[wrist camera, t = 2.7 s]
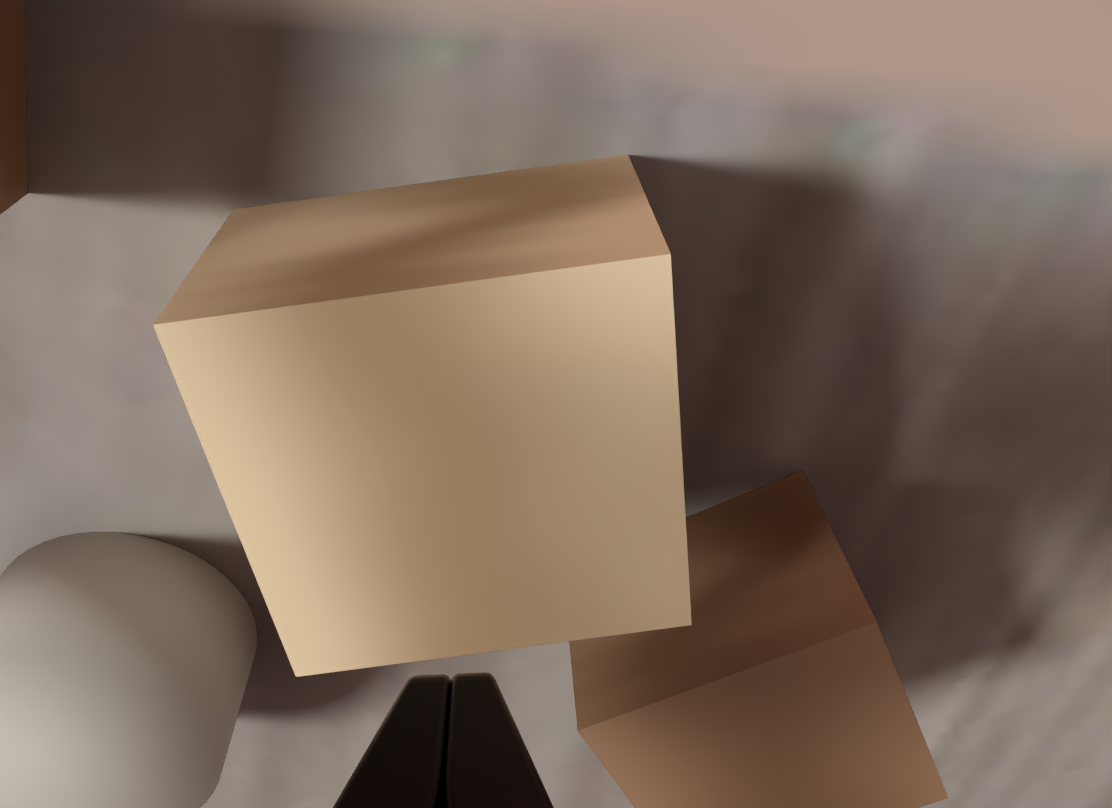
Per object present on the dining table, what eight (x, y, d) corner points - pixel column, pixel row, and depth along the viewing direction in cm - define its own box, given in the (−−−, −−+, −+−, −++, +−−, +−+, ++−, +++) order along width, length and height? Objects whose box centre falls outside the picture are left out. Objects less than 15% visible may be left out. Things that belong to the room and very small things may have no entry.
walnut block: (800, 466, 17) (876, 622, 14) (869, 631, 20) (948, 798, 16) (561, 562, 18) (577, 730, 15) (656, 708, 20) (688, 880, 17)
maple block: (626, 151, 14) (670, 254, 10) (651, 467, 17) (692, 625, 14) (236, 205, 14) (152, 324, 10) (334, 509, 17) (296, 677, 14)
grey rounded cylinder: (233, 523, 17) (188, 644, 14) (276, 702, 20) (245, 831, 17) (-43, 533, 17) (-140, 658, 14) (39, 714, 19) (-30, 847, 17)
